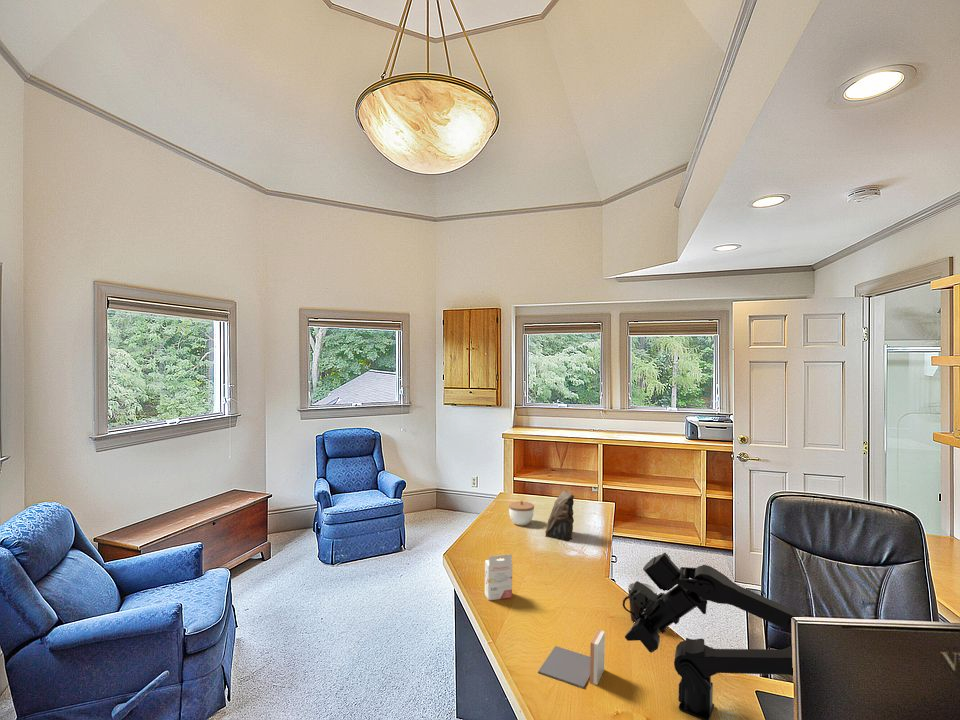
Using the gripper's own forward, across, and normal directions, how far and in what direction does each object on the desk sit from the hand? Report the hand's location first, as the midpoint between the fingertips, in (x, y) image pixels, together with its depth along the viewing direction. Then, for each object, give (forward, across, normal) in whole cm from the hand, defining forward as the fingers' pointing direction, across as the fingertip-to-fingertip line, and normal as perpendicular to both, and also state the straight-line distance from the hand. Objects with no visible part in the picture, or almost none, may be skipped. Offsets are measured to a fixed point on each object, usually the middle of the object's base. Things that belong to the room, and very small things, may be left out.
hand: (626, 638), depth 121 cm
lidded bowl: (+59, -99, -43) cm, 123 cm away
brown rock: (+43, -92, -27) cm, 105 cm away
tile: (+13, 0, +3) cm, 14 cm away
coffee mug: (+11, -33, +6) cm, 35 cm away
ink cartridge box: (+42, -25, -26) cm, 56 cm away
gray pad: (+19, 0, -2) cm, 19 cm away
